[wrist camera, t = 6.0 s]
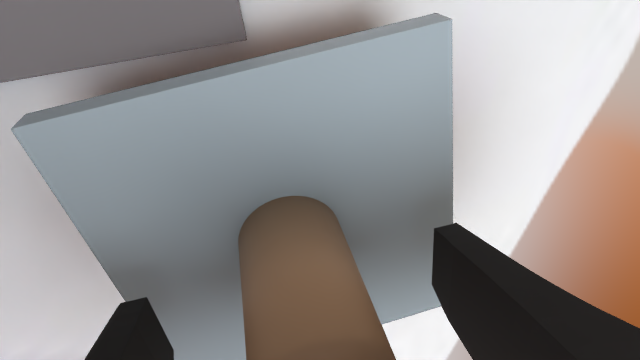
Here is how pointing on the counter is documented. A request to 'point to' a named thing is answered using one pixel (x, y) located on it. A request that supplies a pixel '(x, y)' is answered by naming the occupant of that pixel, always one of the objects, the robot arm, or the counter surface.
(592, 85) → the counter surface
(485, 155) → the counter surface
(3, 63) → the mat
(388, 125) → the lid
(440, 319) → the counter surface
